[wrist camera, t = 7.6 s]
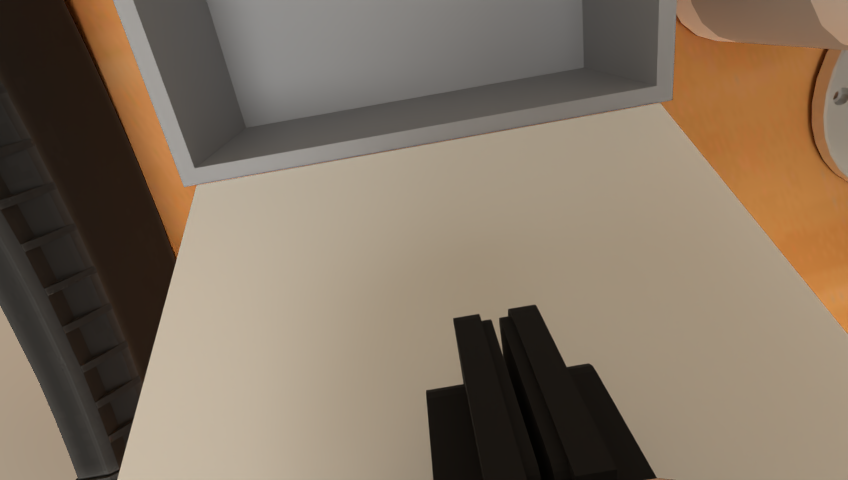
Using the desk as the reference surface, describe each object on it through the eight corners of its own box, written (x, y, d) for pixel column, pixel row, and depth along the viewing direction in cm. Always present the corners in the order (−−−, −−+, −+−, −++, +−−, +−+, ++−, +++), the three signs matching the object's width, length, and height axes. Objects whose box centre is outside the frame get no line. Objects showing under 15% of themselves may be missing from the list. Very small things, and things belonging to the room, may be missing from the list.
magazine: (-448, -372, 11) (-59, 759, 15) (-304, -397, 11) (48, 740, 15) (71, -42, 28) (191, 449, 32) (128, -52, 28) (241, 441, 32)
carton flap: (969, 485, 9) (951, 492, 10) (659, 103, 18) (656, 114, 18) (73, 642, 9) (89, 643, 10) (196, 185, 18) (202, 195, 18)
